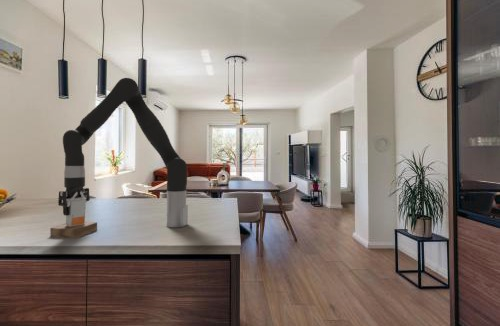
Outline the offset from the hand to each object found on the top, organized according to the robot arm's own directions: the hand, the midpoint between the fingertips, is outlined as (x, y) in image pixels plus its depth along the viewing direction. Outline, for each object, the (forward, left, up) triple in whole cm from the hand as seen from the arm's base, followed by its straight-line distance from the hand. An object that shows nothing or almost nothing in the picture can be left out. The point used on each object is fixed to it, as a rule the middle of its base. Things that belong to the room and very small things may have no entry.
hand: (74, 213), depth 114 cm
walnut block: (0, 0, -9) cm, 9 cm away
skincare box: (0, 0, -5) cm, 5 cm away
